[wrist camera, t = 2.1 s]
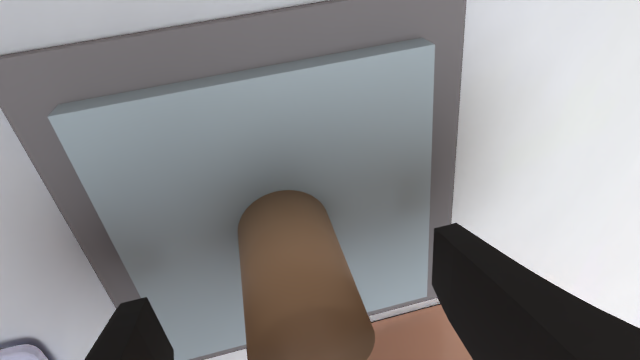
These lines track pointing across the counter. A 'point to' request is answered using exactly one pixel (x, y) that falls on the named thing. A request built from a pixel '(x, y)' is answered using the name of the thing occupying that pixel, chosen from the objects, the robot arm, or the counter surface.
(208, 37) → the mat
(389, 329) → the tray
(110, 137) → the lid
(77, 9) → the counter surface
